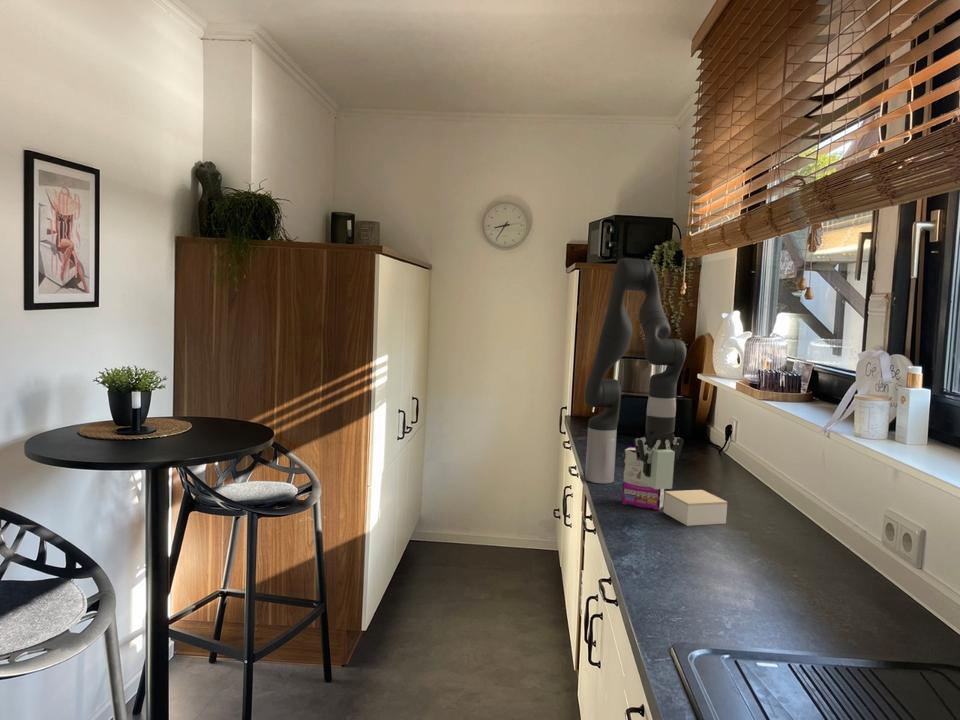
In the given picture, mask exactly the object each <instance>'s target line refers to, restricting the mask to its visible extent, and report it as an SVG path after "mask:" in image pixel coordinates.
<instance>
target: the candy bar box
mask: <svg viewBox="0 0 960 720" xmlns="http://www.w3.org/2000/svg"><path fill="white" fill-rule="evenodd" d="M623 457H624V459H623V477H622V492H621V493H622V494H621V505H625V506H630V507H636V508H642V509H643V508H644V509H648V510H655V511H660V510H661V509H663V508H664V496H665V489H654V488H652V487H650V486H648V485H647V484H645V483H643V482H641V481H640V479H641V465H642V461H641V460H639V459H637V456H636V449H635V446H634V447H631V446H628V447H627V448H625V449H624V456H623Z"/></svg>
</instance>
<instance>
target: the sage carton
mask: <svg viewBox="0 0 960 720" xmlns="http://www.w3.org/2000/svg"><path fill="white" fill-rule="evenodd" d="M646 446H647V444H645V445H644V446H643V447H644V454H645V449H646ZM651 450H652V449H650V448H649V447H648V451H651ZM648 455H649V454H648ZM674 457H675V451H672V449H671V450H666V449H657V450H653V456H652V461H651V475H650V477H646V476H645V475H644V474H643V461H642V465H641V479H640V481H641V482H643V483H645V484H647V485H648V486H650V487H652V488H654V489H664V490H668V489H669V490H671V489H673V482H674V481H673V480H674V471H675V470H674V469H675V467H674V466H675V461H674Z"/></svg>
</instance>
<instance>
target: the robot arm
mask: <svg viewBox="0 0 960 720" xmlns="http://www.w3.org/2000/svg"><path fill="white" fill-rule="evenodd" d="M659 287H660V286H659V284H658V277H657V272H656V269H655V266H654V265H653V263H652V262H651V261H650V260H648V259H644V258H643V259H642V258H641V259H640V258H630V257H629V258H628V257H625V258H624V257H623V258H619V260H618V261H617V263H616V264H615V267H614V271H613V276H612V282H611V288H610V293H609V294H610V295H609V299H608V305H607V309H606V314H605V316H604V320H603V323H602V327H601V331H600V336H599V339H598V345H597V349H596V353H595V358H594V361H593V363H592V368H591V370H590V372H589V375H588V379H587V381H586V384H585V389H584V402H585V404H586V405H587V406H588V407H590V408H604V409H603V411H601V412H600V413H599V414H597V415H594V416H592V417H590V418H589V419H588V421H587V422H588V424H587V440H586V441H587V442H586V455H585V472H584V474H585V475H584V478H585V481H586V482H590V483H593V484H594V483H595V484H611V483H614V482H615V469H616V466H615V465H616V448H617V435H618V434H617V430H618V424H619V418H620V417H619V415H620V409H621V408H620V407H621V397H622V388H621V384H620V382H619V380H617V379H616V378H615V379H614V378H605V377H606V375H607V373H608V372H609V370H610V369H612V367H613V366H614V365H615V364H616V363H617V362H619V360H621V359H622V357H624V355H625V354H626V353H627V351H628V350H629V347H630V344H631V339H632V335H633V331H634V330H633V323H632V322H631V320H630V317H629V314H628V313H627V309H626V306H625V294H626V291H639V292H641V291H642V292H643V293H644V295H645V298H644V300H643V302H642V304H641V306H640V309H639V311H638V320H639V323H640V326H641V329H642V332H643V334H644V356H645V359H646V361H647V362H648V363H649V364H651V365H653V366H666V368H665V370H664V371H662V372H659V373H655V374H652V375H651V376H650V379H649V387H648V399H647V405H646V414H645V416H646V417H645V434H644V435H643V437H640V438H638V437H635V438H634V439H633V440H634V448H635V449H636V456H637V459H639V460H641V461H643V474H644V475H645V476H646V477H650V475H651V461H652V456H653V450H657V449H666V450H672V451H675V457H674V462H675V461H678V460H679V459H680V455H681V452H682V449H683V445H684V442H685V440H684V439H683V438H682V437H679V436H677V437H675V434H674V432H675V429H676V428H675V426H676V416H677V415H676V414H677V413H676V412H677V390H678V389H677V386H678V380H679V377H680V376H681V375H680V374H681V371H682V369H683V366H684V363H685V360H686V357H687V348H686V347H687V346H686V344H685V343H684V341H682V340H681V339H678V338H669V337H670V335H671V330H672V329H671V326H670V324H669V320H668V317H667V315H666V314H665V311H664V308H663V304H662V299H661V293H660V288H659ZM645 443H646V444H645ZM672 444H673V445H672ZM644 445H647V446H646V449H645V454H644V447H643V446H644ZM671 445H672V448H671ZM648 447H649V448H650V449H652V450H651V451H648ZM648 454H649V455H648Z"/></svg>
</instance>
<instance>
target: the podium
mask: <svg viewBox="0 0 960 720" xmlns="http://www.w3.org/2000/svg"><path fill="white" fill-rule="evenodd" d="M727 511H728V501H726V500H724V499H722V498H721V497H718V496H717V495H715V494H712V493H709V492H708V491H706V490H703V489H690V490H689V489H688V490H687V489H686V490H670V491H669V490H664V502H663V513H664V514H666V515H667V516H670V517H671V518H672V519H674V520H676V521H678V522H680V523H681V524H683V525H685V526H687V527H688V526H704V525H706V526H707V525H720V524H721V525H724V524H726V523H727Z"/></svg>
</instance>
